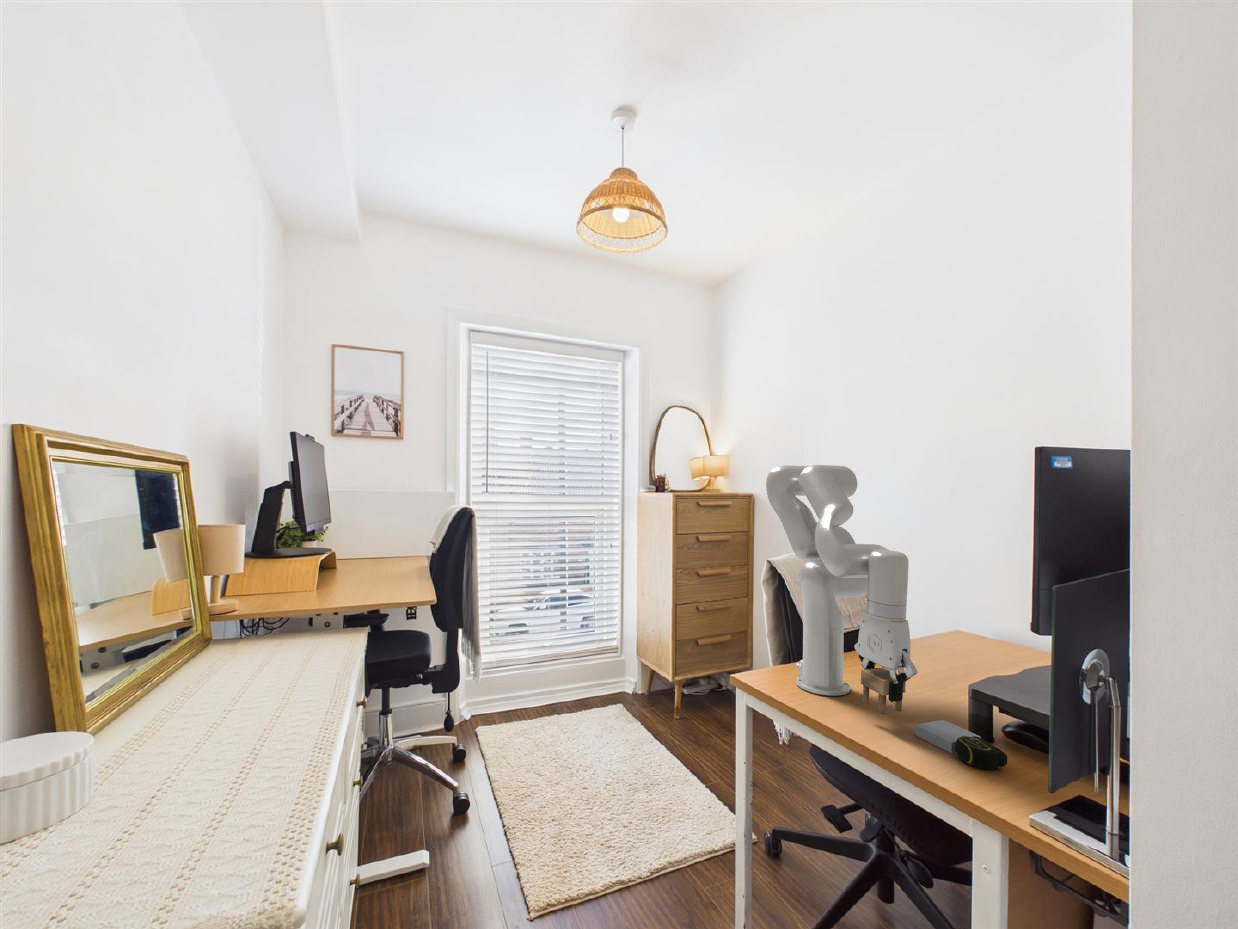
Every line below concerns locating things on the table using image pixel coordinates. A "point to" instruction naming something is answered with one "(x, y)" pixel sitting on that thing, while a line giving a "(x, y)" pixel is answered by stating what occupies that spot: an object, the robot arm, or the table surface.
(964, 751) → the tape measure
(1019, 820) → the table surface
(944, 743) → the plinth
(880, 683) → the stool
